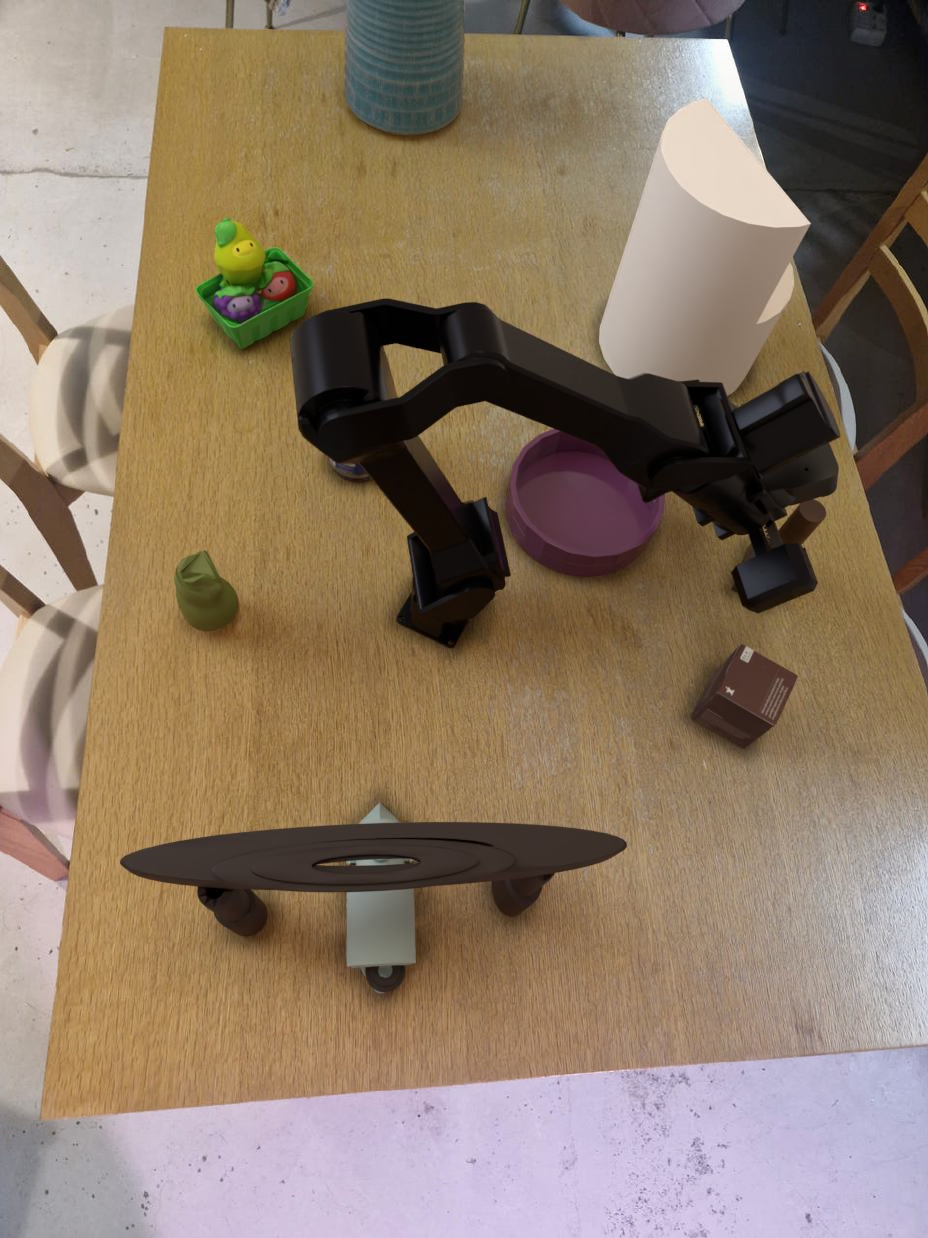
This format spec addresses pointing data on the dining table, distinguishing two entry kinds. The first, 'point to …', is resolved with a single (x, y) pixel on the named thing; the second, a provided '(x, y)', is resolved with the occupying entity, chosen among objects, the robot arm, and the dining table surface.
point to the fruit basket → (252, 286)
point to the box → (744, 697)
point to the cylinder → (702, 259)
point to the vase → (405, 63)
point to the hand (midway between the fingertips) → (781, 535)
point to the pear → (204, 594)
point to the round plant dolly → (372, 873)
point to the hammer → (796, 526)
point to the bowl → (577, 508)
